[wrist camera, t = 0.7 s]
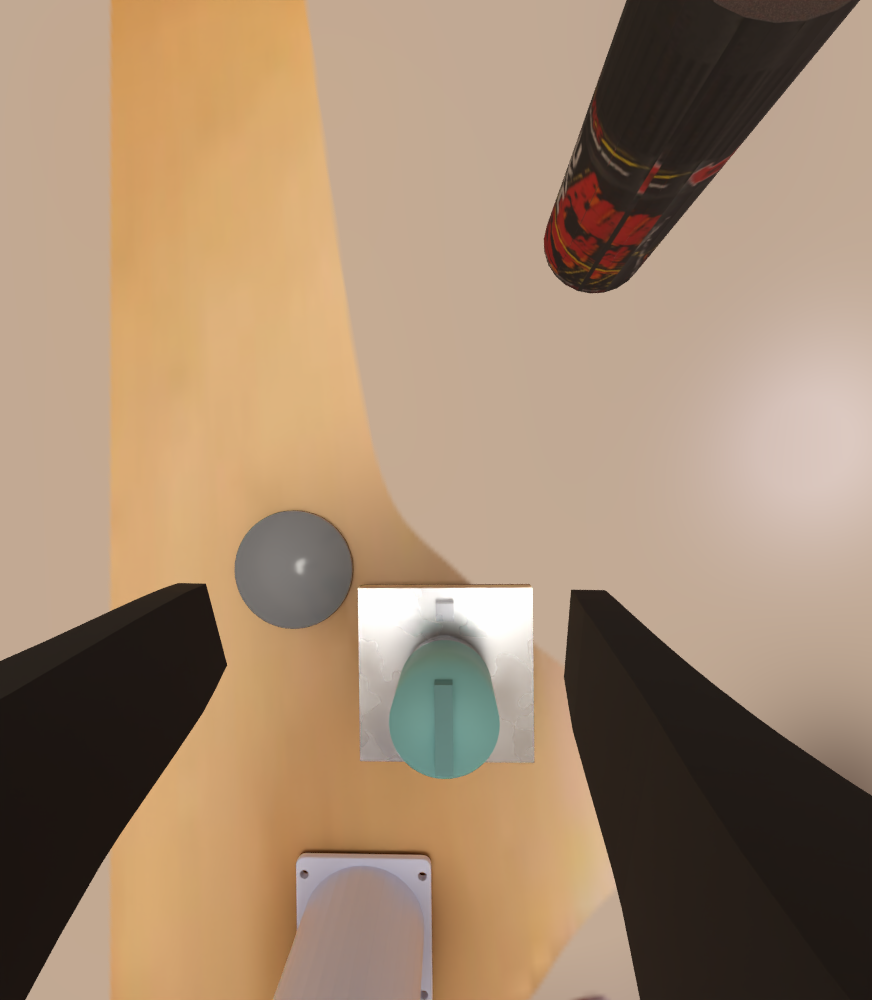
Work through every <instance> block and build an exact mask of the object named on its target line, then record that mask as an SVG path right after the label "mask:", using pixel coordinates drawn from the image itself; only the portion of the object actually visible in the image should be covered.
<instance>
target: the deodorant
mask: <svg viewBox="0 0 872 1000" xmlns="http://www.w3.org/2000/svg"><path fill="white" fill-rule="evenodd" d="M859 1H860V0H627V1H626V4H625V7H624V9H623V12H622V15H621V18H620V21H619V23H618V26H617V29H616V32H615V35H614V38H613V40H612V44H611V46H610V49H609V52H608V55H607V57H606V60H605V63H604V66H603V69H602V72H601V75H600V77H599V80H598V83H597V86H596V88H595V91H594V94H593V97H592V100H591V103H590V105H589V108H588V111H587V114H586V117H585V120H584V122H583V125H582V128H581V131H580V134H579V137H578V140H577V142H576V145H575V148H574V151H573V154H572V156H571V159H570V162H569V165H568V168H567V171H566V173H565V176H564V179H563V182H562V185H561V188H560V190H559V193H558V196H557V199H556V202H555V204H554V207H553V210H552V213H551V216H550V219H549V222H548V224H547V228H546V233H545V237H544V252H545V255H546V258H547V262H548V265H549V266H550V268H551V270H552V271H553V273H554V274H555V275H556V277H557V278H558V279H560V280H561V281H562V282H563V283H564V284H565V285H568V286H569V287H571V288H573V289H575V290H577V291H582V292H587V293H602V292H607V291H610V290H613V289H616V288H618V287H619V286H621V285H622V284H624V283H625V282H627V281H628V280H629V279H630V278H631V277H632V276H633V275H634V274H635V273H636V271H637V270H638V269H639V268H640V267H641V265H642V264H643V263H644V262H645V261H646V259H647V258H648V257H649V256H650V255H651V253H652V252H653V251H654V250H655V248H656V247H657V246H658V245H659V244H660V242H661V241H662V240H663V239H664V237H665V236H666V235H667V234H668V233H669V231H670V230H671V229H672V228H673V226H674V225H675V224H676V223H677V222H678V221H679V219H680V218H681V217H682V216H683V214H684V213H685V212H686V211H687V210H688V208H689V207H690V206H691V205H692V203H693V202H694V201H695V200H696V199H697V197H698V196H699V195H700V194H701V193H702V191H703V190H704V189H705V188H706V186H707V185H708V184H709V183H710V182H711V180H712V179H713V178H714V177H715V176H716V174H717V173H718V172H719V171H720V170H721V168H722V167H723V166H724V165H725V163H726V162H727V161H728V160H729V159H730V157H731V156H732V155H733V154H734V153H735V151H736V150H737V149H738V148H739V146H740V145H741V144H742V143H743V142H744V140H745V139H746V138H747V137H748V136H749V134H750V133H751V132H752V131H753V129H754V128H755V127H756V126H757V125H758V123H759V122H760V121H761V120H762V119H763V117H764V116H765V115H766V114H767V112H768V111H769V110H770V109H771V107H772V106H773V105H774V104H775V103H776V101H777V100H778V99H779V98H780V97H781V95H782V94H783V93H784V92H785V91H786V89H787V88H788V87H789V86H790V85H791V83H792V82H793V81H794V80H795V78H796V77H797V76H798V75H799V74H800V72H801V71H802V70H803V69H804V68H805V66H806V65H807V64H808V63H809V61H810V60H811V59H812V58H813V56H814V55H815V54H816V53H817V52H818V50H819V49H820V48H821V47H822V46H823V44H824V43H825V42H826V41H827V40H828V38H829V37H830V36H831V35H832V34H833V32H834V31H835V30H836V29H837V27H838V26H839V25H840V24H841V22H842V21H843V20H844V19H845V18H846V17H847V15H848V14H849V13H850V12H851V10H852V9H853V8H854V7H855V6H856V4H857V3H858V2H859Z"/></svg>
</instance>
